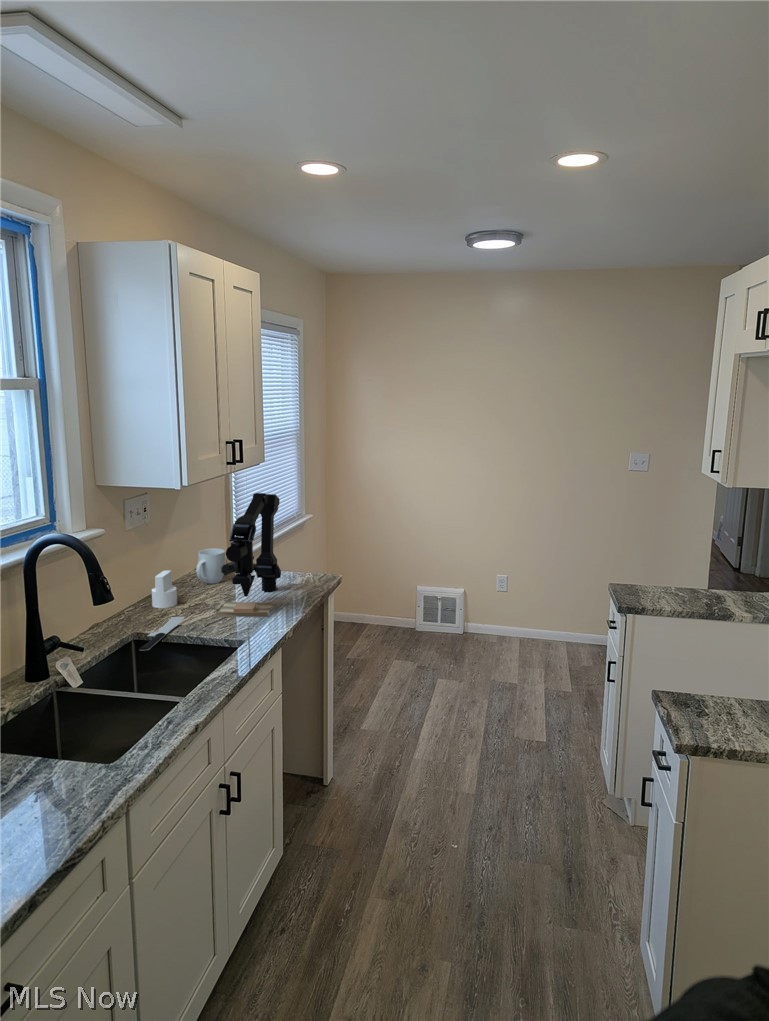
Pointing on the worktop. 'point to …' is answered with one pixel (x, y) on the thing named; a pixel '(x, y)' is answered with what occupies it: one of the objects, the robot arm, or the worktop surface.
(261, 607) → the board
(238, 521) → the robot arm
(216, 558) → the mug
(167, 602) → the base with upright slab
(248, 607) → the tile
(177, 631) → the worktop surface
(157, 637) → the kitchen cleaver
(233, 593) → the worktop surface
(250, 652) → the worktop surface
